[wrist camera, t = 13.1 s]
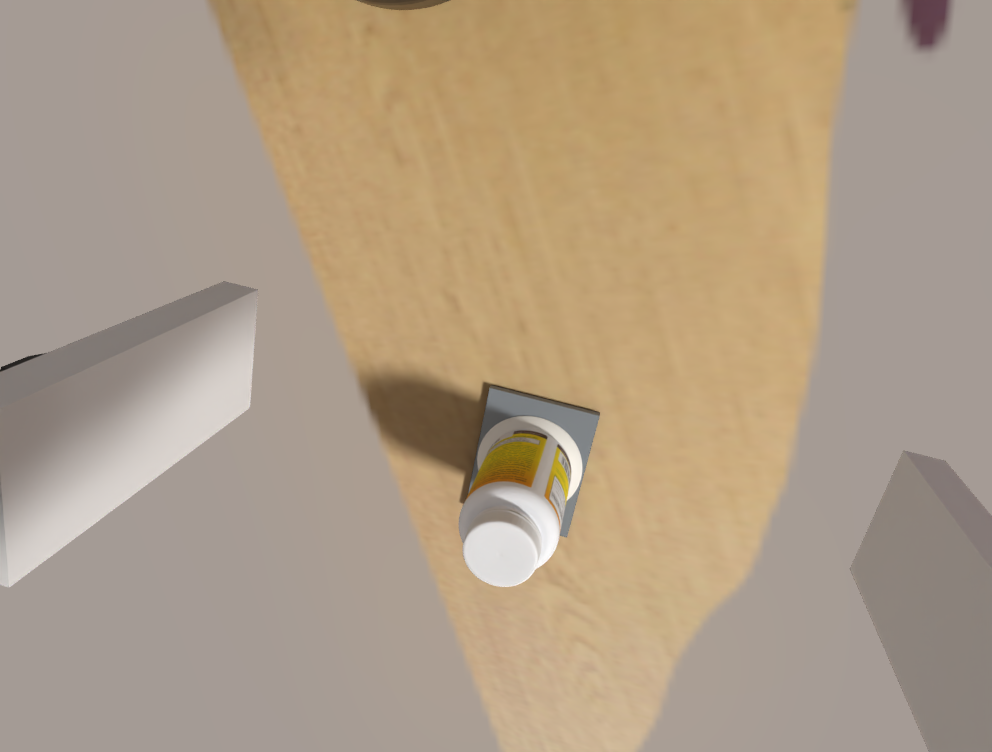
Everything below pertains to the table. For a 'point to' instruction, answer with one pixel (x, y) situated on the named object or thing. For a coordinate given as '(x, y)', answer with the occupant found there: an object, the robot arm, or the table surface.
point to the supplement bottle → (515, 507)
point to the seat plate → (543, 415)
